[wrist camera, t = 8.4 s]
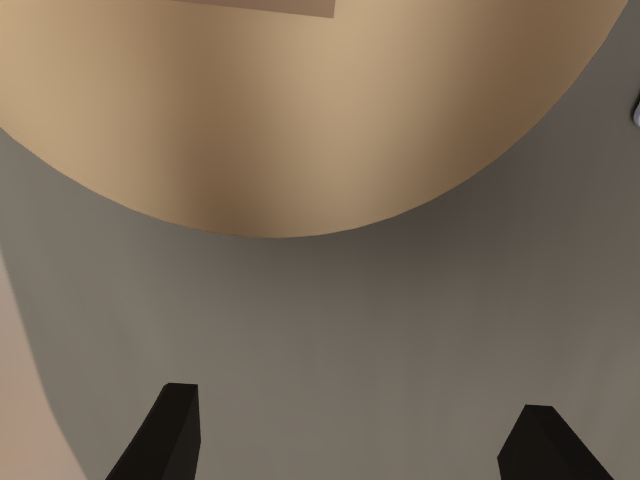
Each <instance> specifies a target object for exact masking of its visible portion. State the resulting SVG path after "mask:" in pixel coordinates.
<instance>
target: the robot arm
mask: <svg viewBox="0 0 640 480" xmlns="http://www.w3.org/2000/svg"><path fill="white" fill-rule="evenodd" d="M633 118H634V122H635V123H636V125H638V126H639V127H640V103H639V105H638V107H637V109H636V111H635V114H634V117H633ZM200 444H201V435H200V417H199V399H198V385H197V384H181V383H168V384H166V385H164V386H163V388H162V390H161V392H160V394H159V396H158V398H157V400H156V401H155V403H154V405H153V407H152V408H151V410H150V412H149V413H148V415H147V417H146V418H145V420H144V422H143V423H142V425H141V427H140V428H139V430H138V431H137V433H136V435H135V436H134V438H133V439H132V441H131V442H130V444H129V445H128V447H127V448H126V450H125V451H124V453H123V454H122V456H121V457H120V459H119V460H118V462H117V463H116V465H115V466H114V467H113V469H112V470H111V472H110V473H109V475H108V476H107V478H106V479H105V480H194V479H195V473H196V468H197V462H198V456H199V450H200ZM497 459H498V464H499V470H500V475H501V480H614V479H613V478H612V477H611V476H610V475H609V473H608V472H607V471H606V470H605V469H604V467H603V466H602V465H601V464H600V463H599V461H598V460H597V459H596V458H595V457H594V456H593V454H592V453H591V452H590V451H589V450H588V448H587V447H586V446H585V445H584V444H583V442H582V441H581V440H580V439H579V438H578V436H577V435H576V434H575V433H574V432H573V430H572V429H571V428H570V427H569V426H568V424H567V423H566V422H565V421H564V420H563V418H562V417H561V416H560V415H559V414H558V412H557V411H556V410H555V409H554V408H553V407H552V406H541V405H525V407H524V408H523V410H522V412H521V414H520V416H519V418H518V420H517V422H516V423H515V425H514V427H513V429H512V431H511V433H510V435H509V436H508V438H507V440H506V442H505V444H504V446H503V448H502V449H501V451H500V453H499V455H498V457H497Z"/></svg>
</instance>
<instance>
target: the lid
mask: <svg viewBox="0 0 640 480" xmlns="http://www.w3.org/2000/svg"><path fill="white" fill-rule="evenodd" d="M628 1H629V0H0V127H1V128H2V129H3V130H4V131H6V132H7V133H8V134H9V135H10V136H11V137H12V138H14V139H15V140H16V141H18V142H19V143H20V144H22V145H23V146H24V147H26V148H27V149H28V150H30V151H31V152H33V153H34V154H35V155H37V156H38V157H39V158H41V159H42V160H44V161H45V162H46V163H48V164H49V165H50V166H52V167H53V168H55V169H56V170H58V171H60V172H62V173H63V174H65V175H67V176H68V177H70V178H72V179H73V180H75V181H77V182H78V183H80V184H82V185H83V186H85V187H87V188H88V189H90V190H92V191H94V192H96V193H98V194H100V195H102V196H104V197H106V198H109V199H111V200H113V201H115V202H117V203H119V204H121V205H123V206H126V207H128V208H130V209H132V210H135V211H138V212H141V213H144V214H146V215H149V216H152V217H155V218H158V219H160V220H163V221H166V222H169V223H173V224H177V225H181V226H185V227H189V228H193V229H197V230H202V231H206V232H212V233H219V234H227V235H234V236H241V237H262V238H290V237H303V236H315V235H323V234H329V233H334V232H339V231H344V230H349V229H354V228H359V227H362V226H365V225H369V224H372V223H375V222H378V221H381V220H385V219H388V218H391V217H394V216H397V215H399V214H401V213H404V212H406V211H408V210H411V209H413V208H415V207H417V206H420V205H422V204H424V203H427V202H429V201H431V200H433V199H435V198H436V197H438V196H440V195H442V194H443V193H445V192H447V191H449V190H450V189H452V188H454V187H456V186H458V185H459V184H461V183H463V182H465V181H466V180H468V179H469V178H471V177H472V176H473V175H475V174H476V173H478V172H479V171H480V170H482V169H483V168H484V167H486V166H487V165H489V164H490V163H491V162H493V161H494V160H496V159H497V158H498V157H500V156H501V155H502V154H504V153H505V152H506V151H507V150H508V149H509V148H510V147H511V146H513V145H514V144H515V143H516V142H517V141H518V140H519V139H520V138H522V137H523V136H524V135H525V134H526V133H527V132H528V131H529V130H531V129H532V128H533V127H534V126H535V125H536V124H537V123H538V122H539V121H540V120H541V119H542V118H543V117H544V115H545V114H546V113H547V112H548V111H549V110H550V109H551V108H552V107H553V106H554V105H555V103H556V102H557V101H558V100H559V99H560V98H561V97H562V96H563V95H564V94H565V92H566V91H567V90H568V89H569V88H570V87H571V86H572V84H573V83H574V82H575V80H576V79H577V78H578V76H579V75H580V74H581V72H582V71H583V70H584V68H585V67H586V66H587V64H588V63H589V61H590V60H591V59H592V57H593V56H594V55H595V53H596V52H597V51H598V49H599V48H600V47H601V45H602V44H603V42H604V41H605V39H606V37H607V36H608V34H609V32H610V31H611V29H612V27H613V26H614V24H615V23H616V21H617V19H618V18H619V16H620V14H621V13H622V11H623V9H624V8H625V6H626V4H627V3H628Z"/></svg>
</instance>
